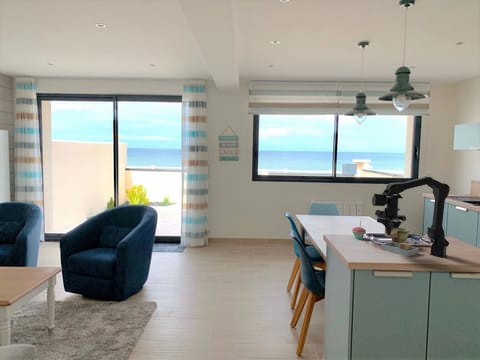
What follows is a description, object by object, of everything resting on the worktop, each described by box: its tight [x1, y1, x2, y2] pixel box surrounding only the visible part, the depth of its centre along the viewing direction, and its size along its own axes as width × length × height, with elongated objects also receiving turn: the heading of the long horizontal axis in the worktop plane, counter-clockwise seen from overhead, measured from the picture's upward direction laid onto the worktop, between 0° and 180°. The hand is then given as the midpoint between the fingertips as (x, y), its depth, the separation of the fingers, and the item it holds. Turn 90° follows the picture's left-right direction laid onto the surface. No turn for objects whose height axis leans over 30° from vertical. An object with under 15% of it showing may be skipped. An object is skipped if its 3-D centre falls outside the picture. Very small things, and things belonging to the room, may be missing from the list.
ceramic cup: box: [391, 227, 410, 243], centre depth 202 cm, size 13×10×10 cm
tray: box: [380, 241, 420, 257], centre depth 188 cm, size 16×11×3 cm
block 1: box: [384, 227, 397, 239], centre depth 183 cm, size 4×4×4 cm
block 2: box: [399, 242, 413, 251], centre depth 185 cm, size 4×4×4 cm
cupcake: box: [351, 220, 367, 240], centre depth 216 cm, size 9×8×12 cm
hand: (391, 234), depth 183 cm, fingers closed on block 1, 4 cm apart
